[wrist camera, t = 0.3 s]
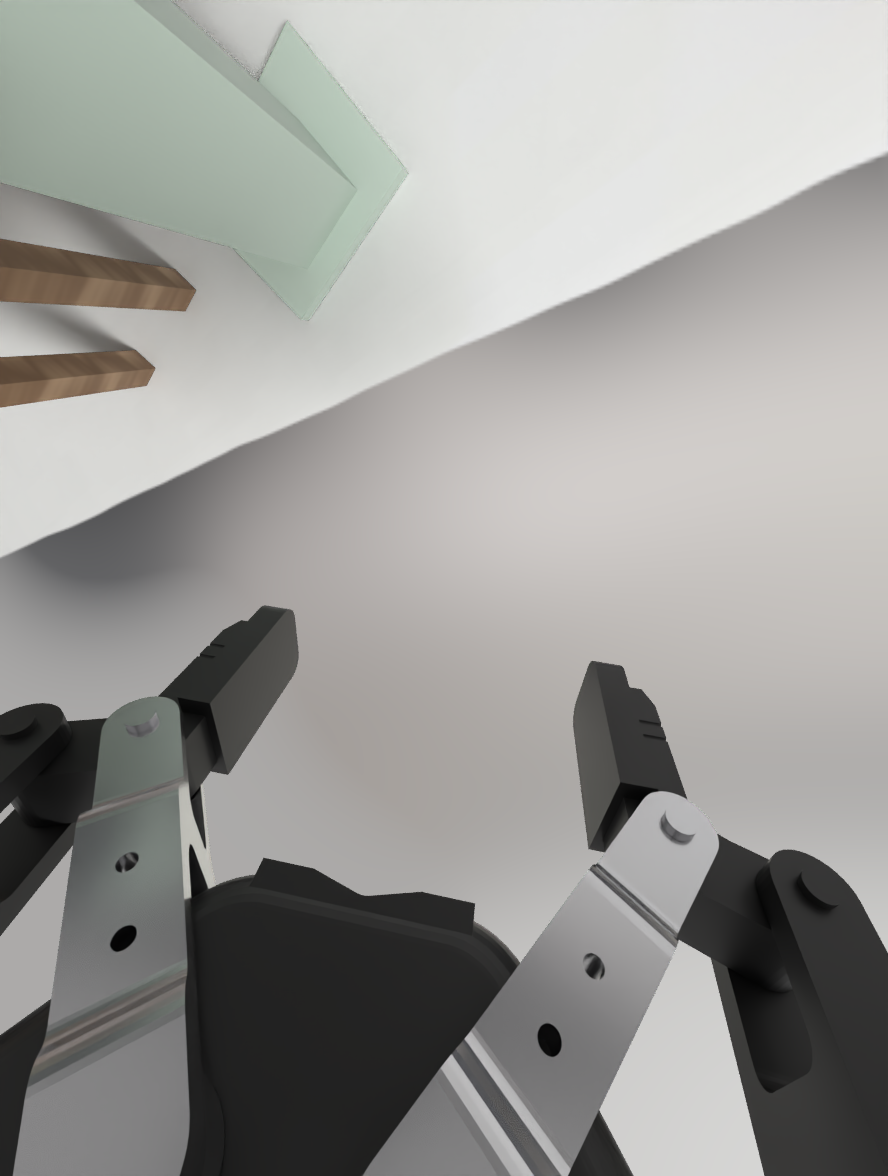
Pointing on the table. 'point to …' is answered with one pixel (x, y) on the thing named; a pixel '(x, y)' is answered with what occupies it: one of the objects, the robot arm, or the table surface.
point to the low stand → (82, 282)
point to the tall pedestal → (191, 136)
